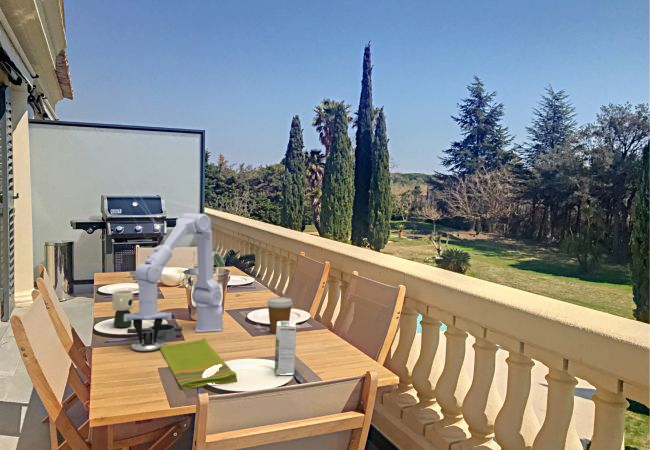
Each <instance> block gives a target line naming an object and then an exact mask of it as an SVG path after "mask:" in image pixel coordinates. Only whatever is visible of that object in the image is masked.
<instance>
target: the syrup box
mask: <svg viewBox="0 0 650 450" xmlns="http://www.w3.org/2000/svg"><path fill="white" fill-rule="evenodd" d="M296 343H297V322H296V321H290V320H289V321H277V329H276V334H275V343H274V345H275V348H274V376H277V375H280V374H286V373H294V374H295V370H296V369H295V368H296V367H295V366H296V346H297V345H296ZM277 377H278V376H277Z"/></svg>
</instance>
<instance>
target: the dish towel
mask: <svg viewBox="0 0 650 450" xmlns="http://www.w3.org/2000/svg"><path fill="white" fill-rule="evenodd" d="M159 351H160V352H161V354H162V355H163V357H164V359H165V361H166V363H167V364H168V367H169V369H170V371H171V370H172V371H171V372H173V373H172V374H173V377H174V378H175V380H176V382H177V383H178V385H179V387H180V389H181V390H182V389H184V390H192V389H197V388H198V387H200V388H205V387H204V386H206V385H207V383H212V384H213V383H215V384H221V385H226V384H227V385H228V384H233V383H237V382H238V377H237V373H236V371H234V370H233V371H232V369H231V368H230V367H229V366H228V365H227V364H226V362H225V361H224V360H223V359H222V358H221V356H220V355H219V354H218V353H217V352H216V351H215V350H214V349H213V348H212V346H211V345H210V344H209V343H208V342H207V340H206V337H204V338H202V339H200V340H194V341H190V342H181V343H174V344H167V345H164V346H163V347H161V348H159ZM218 364H222V367H220V368H219V371H217V372H216V373H215V374H214V375H212V376H210V377H207V378H202V374H203V372H204V371H205V370H206V369H208V368H210V367H212V366H214V365H218ZM191 388H192V389H191ZM198 389H199V388H198Z"/></svg>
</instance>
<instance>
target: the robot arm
mask: <svg viewBox="0 0 650 450" xmlns="http://www.w3.org/2000/svg"><path fill="white" fill-rule="evenodd" d="M175 224H176V225H175V226H174V228H173V229H172V231H171V232H170V234H169V235H168V236H167V238H166V240H165V241H164V243H163V244H160V245H157V246H155V247H154V248H153V252H151V254H150V255H149V256H148V258H147V259H145V261H144V262H143V263H141V264H138V266H137V267H136V268H135V269H136V270H135V272H134V273H133V275H134V277H135V279H136V280H137V286H138V312H132V313H131V314H124V321H132V326H133V327H134V329H136V331H137V333H136V334H137V337H138V340H139V342H140V343H142V340H143V333H142V328H143V321H153V325H154V342H156V338H157V334H158V331H159V328H160V326H161V324H163V321H164V320H168V321H172V316H173V315H172V314H173V313H172V312H162V311H158V281H159V280H161V278H162V274H163V270H164V267H165V266H166V265H167V264H168V262H169V260H171V258H172V256H173V251H174V249H175V248H176V246H177V245H178V244H179V243H180V242H181V241H182V240H183V238H184V237H185V236H186V235H192V236H194V237H195V238H196V251H197V252H196V253H197V254H196V255H197V256H196V257H197V281H195V283H193V290H192V294H191V298H192V302H194V305H195V306H196V324H195V326H194V328H195V333H205V332H206V333H207V332H208V333H210V332H223V324H224V322H223V305H222V304H220V303H221V301H222V292H221V287H220V284H219V283H218V282H217V281H216V280H215V279H214V254H213V250H214V249H213V230H212V226H211V225H212V222H211V218H210V217H209V216H208V215H207V214H205V213H193V212H182V213H181V214H180V215H179V217H178V218H177V219H176V220H175Z"/></svg>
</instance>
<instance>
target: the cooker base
mask: <svg viewBox="0 0 650 450" xmlns="http://www.w3.org/2000/svg"><path fill="white" fill-rule="evenodd" d="M148 331H150V332H152V339H154V324H153V325H151V326H149V327H147V328H146V327H142V334H144V332H148ZM177 332H183V326H176V325H175V324H173V323H172V324H170V323H162V324H161V326H160V328H159V331H158V334H157V338H156V339H159V340H162V341H164V342H167V341H172V340H174V339H176V338H177ZM126 334H128V335H129V334H137V331H136V329H135V328H127V333H126Z"/></svg>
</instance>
